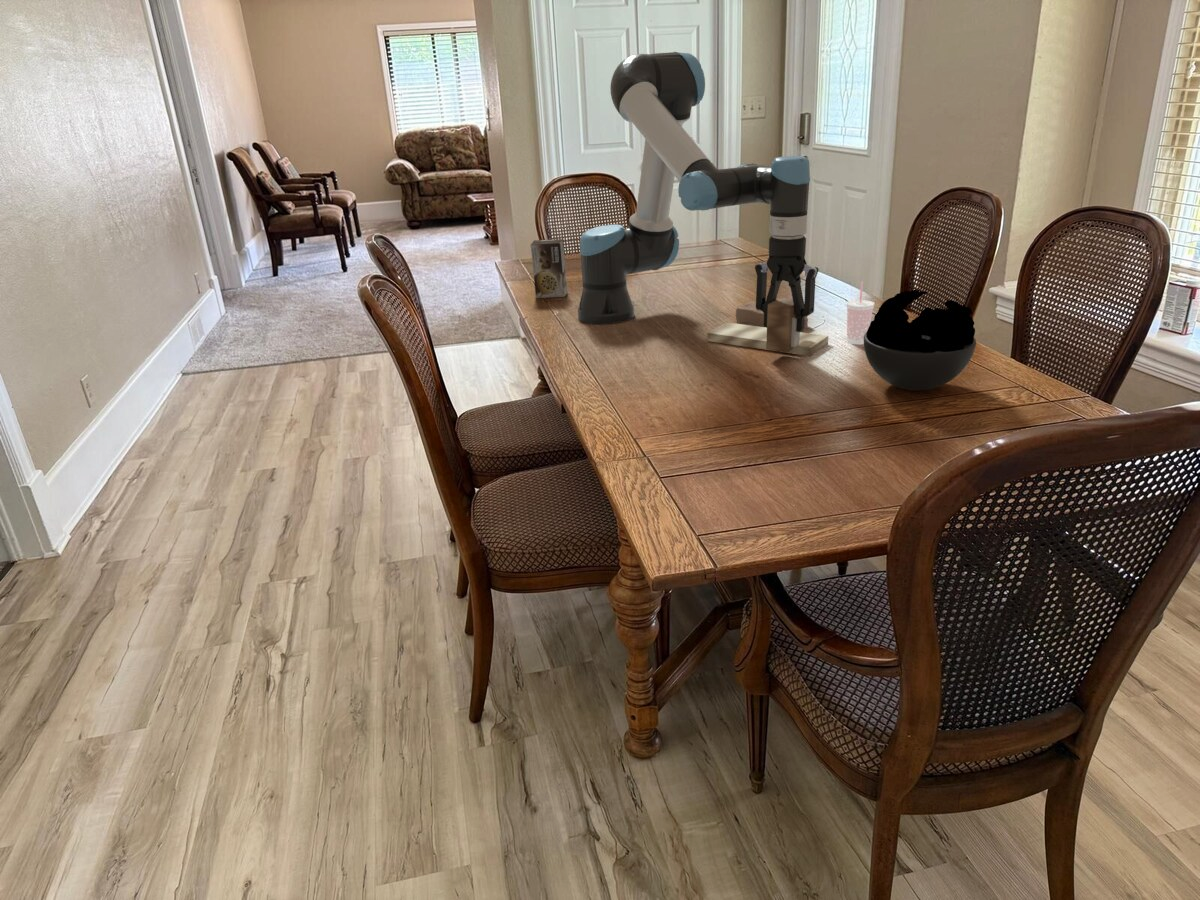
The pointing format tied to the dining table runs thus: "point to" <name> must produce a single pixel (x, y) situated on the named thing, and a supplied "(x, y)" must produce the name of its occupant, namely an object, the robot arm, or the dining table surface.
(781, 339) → the brown block with handle
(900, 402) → the dining table surface
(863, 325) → the beverage cup
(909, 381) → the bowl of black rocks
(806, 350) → the board
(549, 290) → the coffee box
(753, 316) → the brick
